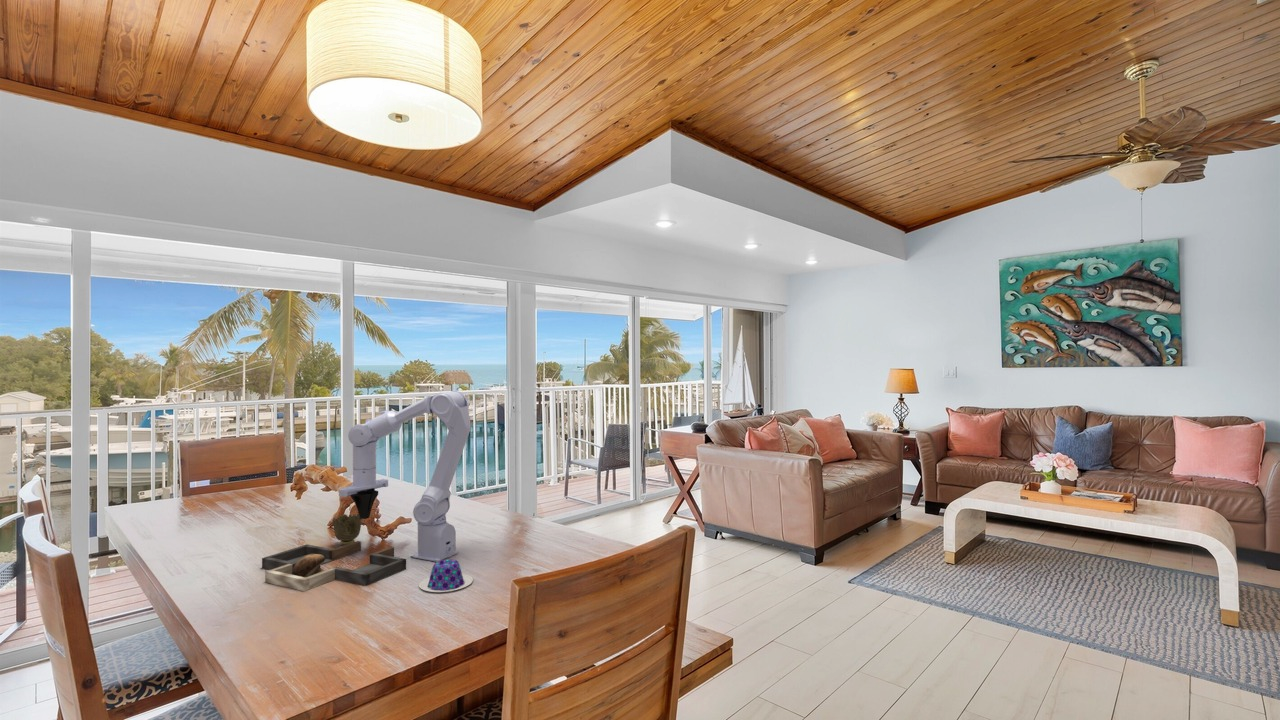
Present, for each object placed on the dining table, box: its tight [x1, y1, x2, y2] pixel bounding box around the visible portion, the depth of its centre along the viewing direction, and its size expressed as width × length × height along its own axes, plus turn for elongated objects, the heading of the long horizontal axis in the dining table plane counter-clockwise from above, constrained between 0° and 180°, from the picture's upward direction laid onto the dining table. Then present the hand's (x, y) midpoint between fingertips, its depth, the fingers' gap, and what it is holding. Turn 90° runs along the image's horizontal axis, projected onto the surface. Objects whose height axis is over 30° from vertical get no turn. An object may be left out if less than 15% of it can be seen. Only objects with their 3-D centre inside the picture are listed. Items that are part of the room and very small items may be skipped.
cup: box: [332, 513, 363, 547], centre depth 172 cm, size 8×7×8 cm
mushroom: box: [292, 554, 325, 578], centre depth 146 cm, size 8×8×6 cm
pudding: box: [418, 559, 474, 593], centre depth 142 cm, size 12×12×5 cm
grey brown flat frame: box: [261, 540, 407, 592], centre depth 153 cm, size 33×26×2 cm
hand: (364, 518), depth 165 cm, fingers closed
